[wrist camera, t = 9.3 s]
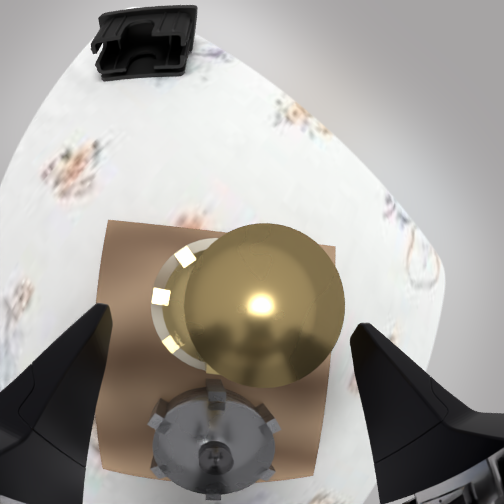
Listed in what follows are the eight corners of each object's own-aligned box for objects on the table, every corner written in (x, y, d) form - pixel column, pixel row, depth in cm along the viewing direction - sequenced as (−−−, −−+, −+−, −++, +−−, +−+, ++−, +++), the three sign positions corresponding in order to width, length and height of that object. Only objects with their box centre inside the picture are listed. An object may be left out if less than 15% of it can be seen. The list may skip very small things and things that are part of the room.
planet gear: (208, 390, 16) (240, 514, 4) (133, 292, 17) (26, 261, 5) (301, 316, 19) (446, 318, 7) (230, 222, 19) (289, 97, 7)
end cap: (194, 41, 24) (199, -3, 18) (188, 77, 23) (192, 26, 17) (114, 46, 22) (107, 4, 16) (97, 83, 21) (83, 37, 15)
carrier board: (306, 467, 18) (314, 477, 16) (107, 460, 15) (101, 470, 13) (326, 250, 22) (337, 245, 20) (113, 225, 19) (107, 218, 17)
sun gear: (262, 477, 16) (276, 506, 12) (156, 473, 14) (151, 505, 10) (272, 380, 18) (292, 398, 14) (153, 373, 16) (143, 391, 12)
